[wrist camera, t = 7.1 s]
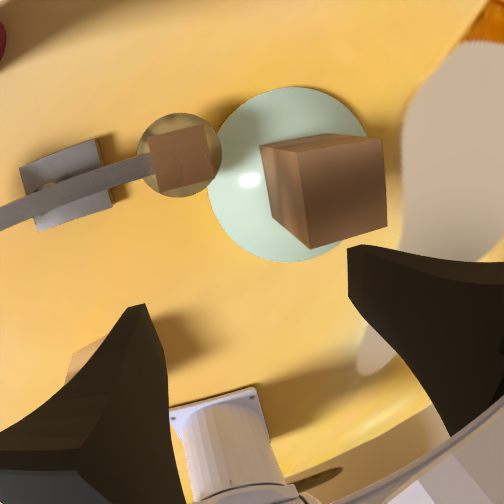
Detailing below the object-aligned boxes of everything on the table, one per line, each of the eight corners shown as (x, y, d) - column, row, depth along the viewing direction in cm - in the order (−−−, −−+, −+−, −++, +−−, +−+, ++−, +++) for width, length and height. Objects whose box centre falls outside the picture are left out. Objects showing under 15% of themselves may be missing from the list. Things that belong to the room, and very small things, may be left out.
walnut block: (335, 201, 20) (387, 226, 15) (271, 217, 19) (310, 249, 14) (327, 133, 18) (381, 138, 13) (258, 145, 18) (296, 152, 13)
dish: (370, 234, 23) (377, 238, 22) (226, 275, 21) (229, 282, 20) (355, 83, 19) (363, 82, 18) (188, 104, 17) (190, 103, 16)
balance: (217, 175, 19) (242, 197, 13) (-25, 253, 16) (-72, 297, 10) (203, 109, 17) (223, 99, 11) (-43, 199, 14) (-98, 229, 8)
